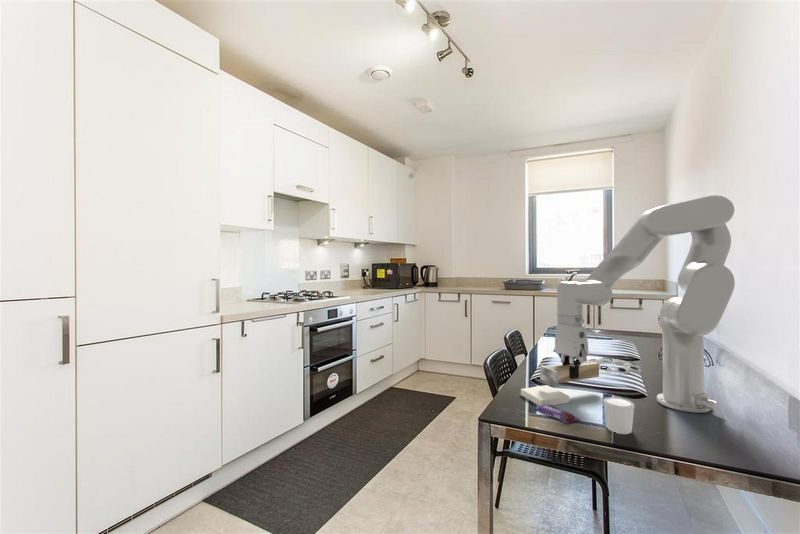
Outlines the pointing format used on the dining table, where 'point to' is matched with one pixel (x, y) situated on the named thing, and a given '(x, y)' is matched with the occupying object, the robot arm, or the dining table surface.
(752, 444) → the dining table surface
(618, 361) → the paint palette
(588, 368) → the tan wooden plank
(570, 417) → the snack package
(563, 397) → the tile
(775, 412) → the dining table surface
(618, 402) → the white cylinder
